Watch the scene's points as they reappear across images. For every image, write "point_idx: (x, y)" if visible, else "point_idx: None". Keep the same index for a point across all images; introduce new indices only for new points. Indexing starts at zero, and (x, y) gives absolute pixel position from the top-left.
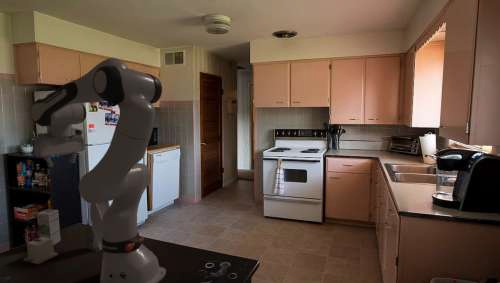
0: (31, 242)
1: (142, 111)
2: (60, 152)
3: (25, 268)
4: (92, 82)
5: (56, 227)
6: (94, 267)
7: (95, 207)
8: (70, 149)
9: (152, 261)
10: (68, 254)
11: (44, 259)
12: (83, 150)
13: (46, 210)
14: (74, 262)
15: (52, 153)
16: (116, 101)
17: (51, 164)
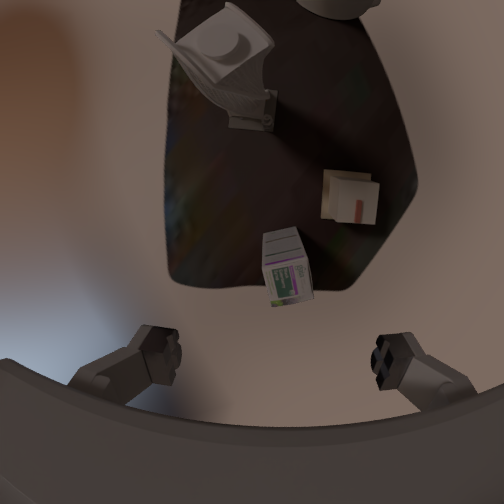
0: (369, 216)
1: None
2: (365, 443)
3: (387, 183)
4: None
5: (274, 244)
6: (335, 46)
7: (262, 65)
8: (143, 458)
9: None
10: (314, 145)
11: (356, 173)
12: (3, 359)
13: (281, 297)
14: (337, 100)
15: (473, 415)
16: None
17: (412, 342)
